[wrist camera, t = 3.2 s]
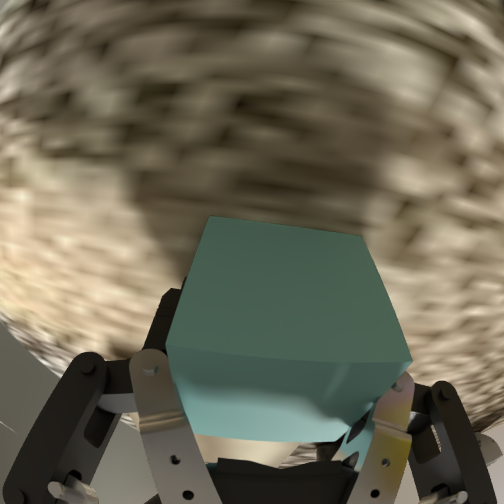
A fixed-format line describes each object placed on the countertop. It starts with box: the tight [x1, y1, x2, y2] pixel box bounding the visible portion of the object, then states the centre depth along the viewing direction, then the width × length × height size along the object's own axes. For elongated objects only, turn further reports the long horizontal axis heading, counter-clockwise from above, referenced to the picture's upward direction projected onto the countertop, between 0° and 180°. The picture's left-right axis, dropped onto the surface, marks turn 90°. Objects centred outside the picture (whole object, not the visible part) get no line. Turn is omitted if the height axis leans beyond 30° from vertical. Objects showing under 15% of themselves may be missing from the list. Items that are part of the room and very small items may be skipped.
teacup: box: [475, 432, 503, 467], centre depth 30 cm, size 15×12×8 cm
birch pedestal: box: [129, 412, 301, 468], centre depth 20 cm, size 12×12×3 cm
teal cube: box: [165, 216, 413, 442], centre depth 10 cm, size 6×6×6 cm
